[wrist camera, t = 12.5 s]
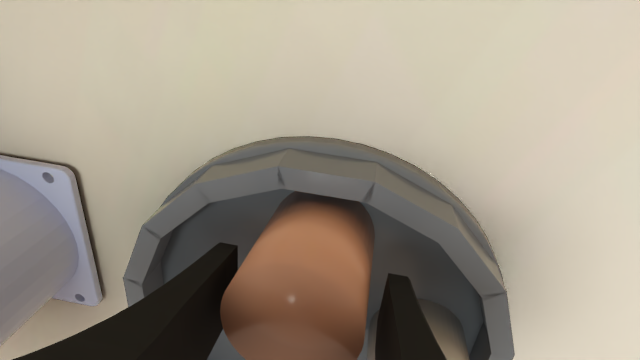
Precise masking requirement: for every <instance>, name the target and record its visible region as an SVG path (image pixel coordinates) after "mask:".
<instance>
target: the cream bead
mask: <svg viewBox="0 0 640 360" xmlns="http://www.w3.org/2000/svg"><path fill="white" fill-rule="evenodd" d="M417 300H418V302H419V304H420V307H421V309H422V312H423V314H424V316H425V318H426V320H427V322H428V324H429V326H430V328H431V331H432V333H433V335H434V337H435V339H436V340H437V342H438V344H439V346H440V348H441V350H442V352H443V353H444V355H445V357H446V359H447V360H470V359H469V355H468V350H467V345H466V340H465V335H464V330H463V326H462V324H461V322H460V320H459V319H458V317H457V316H456V315H455V314H454V313H453V312H451V311H450V310H449V309H447V308H446V307H444V306H442V305H440V304H438V303H435V302H432V301H428V300H422V299H417ZM379 310H380V309H379ZM379 310H378V311H377V312H376V313H375V314H374V316H373V317H372V319H371V321H370V324H369V332H368V347H367V360H375V343H376V330H377V319H378V315H379Z"/></svg>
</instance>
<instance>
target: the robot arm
mask: <svg viewBox="0 0 640 360" xmlns="http://www.w3.org/2000/svg"><path fill="white" fill-rule="evenodd" d="M50 174H51V175H52V176H53V177H52V176H51V175H50ZM237 271H238V245H232V244H227V243H221V242H220V243H218V244H217V245H215V246H214V247H213V248H212V249H210V250H209V251H208V252H206V253H205V254H204V255H203V256H201V257H200V258H199V259H198V260H196V261H195V262H194V263H192V264H191V265H190V266H188V267H187V268H186V269H184V270H183V271H182V272H180V273H179V274H178V275H176V276H175V277H174V278H172V279H171V280H170V281H168V282H167V283H165V284H164V285H162V286H161V287H159V288H158V289H156V290H155V291H153V292H152V293H150V294H149V295H147V296H146V297H144V298H143V299H141V300H140V301H138V302H136V303H135V304H133V305H132V306H130V307H128V308H126V309H125V310H123V311H121V312H119V313H118V314H116V315H114V316H112V317H110V318H108V319H106V320H104V321H102V322H100V323H98V324H96V325H94V326H92V327H90V328H88V329H86V330H84V331H82V332H80V333H78V334H76V335H73V336H71V337H69V338H67V339H64V340H62V341H60V342H57V343H55V344H52V345H50V346H47V347H45V348H43V349H40V350H38V351H35V352H32V353H30V354H27V355H24V356H22V357H19V358H16V359H13V360H207V358H208V356H209V355H210V353H211V351H212V349H213V347H214V345H215V343H216V341H217V339H218V337H219V335H220V333H221V332H222V330H223V326H222V322H221V316H220V306H221V301H222V297H223V295H224V292H225V290H226V289H227V287H228V285H229V284H230V282H231V281H232V279H233V277H234V276H235V274H236V273H237ZM51 298H54V299H59V300H63V301H68V302H73V303H78V304H83V305H88V306H97V305H98V304H99V303H100V302H101V300H102V293H101V288H100V284H99V279H98V275H97V271H96V266H95V262H94V257H93V253H92V248H91V244H90V240H89V235H88V231H87V226H86V222H85V218H84V213H83V209H82V204H81V200H80V195H79V191H78V187H77V182H76V178H75V175H74V173H73V172H72V171H71V170H70V169H69V168H67V167H65V166H61V165H55V164H49V163H44V162H38V161H32V160H26V159H20V158H14V157H8V156H2V155H0V346H1V345H2V344H3V343H4V342H5V341H6V340H7V339H9V338H10V337H11V336H12V335H13V334H14V333H15V332H16V331H17V330H18V329H19V328H20V327H21V326H22V325H23V324H24V323H25V322H26V321H27V320H29V319H30V318H31V317H32V316H33V315H34V314H35V313H36V312H37V311H38V310H39V309H40V308H41V307H42V306H43V305H44V304H45V303H46V302H48V301H49V300H50V299H51ZM375 360H447V359H446V357H445V355H444V353H443V352H442V350H441V348H440V346H439V344H438V342H437V340H436V339H435V337H434V335H433V333H432V331H431V328H430V326H429V324H428V322H427V320H426V318H425V316H424V314H423V312H422V309H421V307H420V304H419V302H418V300H417V297H416V295H415V292H414V289H413V286H412V284H411V280H410V279H409V278H408V277H407V276H402V275H397V274H391V273H388V276H387V280H386V285H385V289H384V293H383V298H382V302H381V306H380V310H379V315H378V319H377V330H376V343H375Z"/></svg>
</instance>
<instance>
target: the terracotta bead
mask: <svg viewBox="0 0 640 360" xmlns="http://www.w3.org/2000/svg"><path fill="white" fill-rule="evenodd" d="M374 241H375V230H374V225H373V222H372V219H371V217H370V215H369V213H368V212H367V210H366V209H365V208H364V206H363V205H362V204H361V203H360V202H359V201H353V200H347V199H341V198H335V197H329V196H323V195H317V194H311V193H305V192H299V191H294V192H293V193H291V194H289V195H288V196H287V197H286V198H285V199H284V200H283V201H282V202H281V203H280V204H279V206H278V208H277V209H276V211H275V212H274V214H273V215H272V217H271V219H270V220H269V222H268V223H267V225H266V227H265V228H264V230H263V231H262V233H261V235H260V236H259V238H258V239H257V241H256V242H255V244H254V246H253V247H252V249H251V250H250V252H249V254H248V255H247V257H246V258H245V260H244V262H243V263H242V265H241V266H240V268H239V269H238V271H237V273H236V274H235V276H234V277H233V279H232V281H231V282H230V284H229V285H228V287H227V289H226V290H225V292H224V295H223V297H222V301H221V306H220V316H221V322H222V326H223V329H224V332H225V334H226V336H227V338H228V340H229V341H230V343H231V344H232V346H233V347H234V348H235V349H236V350H237V352H238V353H239V354H240V355H241V356H242V357H243V358H245V359H246V360H356V359H357V358H358V357H359V355H360V353H361V351H362V348H363V344H364V339H365V329H366V319H367V309H368V300H369V290H370V280H371V270H372V261H373V251H374Z"/></svg>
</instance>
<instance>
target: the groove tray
mask: <svg viewBox="0 0 640 360" xmlns="http://www.w3.org/2000/svg"><path fill="white" fill-rule="evenodd" d="M294 191H299V192H305V193H311V194H317V195H323V196H329V197H335V198H341V199H347V200H353V201H359V202H360V203H361V204H362V205H363V206H364V208H365V209H366V210H367V212H368V213H369V215H370V217H371V219H372V222H373V225H374V230H375V241H374V251H373V261H372V270H371V280H370V290H369V300H368V309H367V319H366V329H365V339H364V344H363V348H362V351H361V353H360V355H359V357H358V358H357V359H356V360H367V347H368V332H369V324H370V321H371V319H372V317H373V316H374V314H375V313H376V312H377V311H378V310H379V309H380V306H381V302H382V298H383V293H384V289H385V285H386V280H387V276H388V273H391V274H397V275H402V276H407V277H408V278H409V279H410V280H411V284H412V286H413V289H414V292H415V295H416V297H417V299H422V300H428V301H432V302H435V303H438V304H440V305H442V306H444V307H446V308H447V309H449V310H450V311H451V312H453V313H454V314H455V315H456V316H457V317H458V319H459V320H460V322H461V324H462V326H463V330H464V335H465V340H466V345H467V350H468V355H469V359H470V360H512V359H513V357H514V355H515V354H514V346H513V338H512V330H511V323H510V315H509V307H508V299H507V292H506V289H505V286H504V283H503V278H502V274H501V271H500V268H499V266H498V263H497V260H496V258H495V255H494V253H493V250H492V248H491V246H490V243H489V241H488V238H487V236H486V235H485V233H484V232H483V230H482V228H481V227H480V225H479V224H478V222H477V220H476V219H475V217H474V216H473V215H472V214H471V213H470V212H469V210H468V209H467V208H466V207H465V206H464V205H463V203H462V202H461V201H460V200H459V199H458V198H457V197H456V196H455V195H454V194H452V193H451V192H450V191H449V190H448V189H447V188H446V187H444V186H443V185H442V184H441V183H440V182H439V181H437V180H436V179H434V178H433V177H431V176H430V175H428V174H427V173H425V172H423V171H422V170H420V169H419V168H417V167H416V166H414V165H412V164H410V163H408V162H406V161H404V160H402V159H400V158H398V157H395V156H393V155H391V154H389V153H386V152H383V151H380V150H377V149H374V148H371V147H368V146H366V145H362V144H357V143H352V142H348V141H343V140H339V139H330V138H319V137H281V138H275V139H269V140H263V141H257V142H253V143H250V144H247V145H244V146H241V147H237V148H234V149H232V150H229V151H227V152H225V153H223V154H221V155H219V156H217V157H215V158H213V159H211V160H210V161H208V162H207V163H205V164H204V165H202V166H201V167H199V168H198V169H196V170H195V171H194V172H193V173H192V174H191V175H189V176H188V177H187V178H186V179H185V180H184V181H183V182H182V183H181V184H180V185H179V186H178V187H177V188H176V189H175V190H174V191H173V192H172V193H171V194H170V195H169V196H168V197H167V198H166V200H165V201H164V203H163V204H162V205H161V207H160V208H159V209H158V210H157V211H156V212H155V213H154V214H153V215H152V216H151V217H150V218H149V219H148V220H147V221H146V222H145V223H144V224H143V225H142V227H141V230H140V233H139V236H138V238H137V241H136V244H135V247H134V249H133V252H132V255H131V258H130V261H129V263H128V266H127V269H126V272H125V274H124V277H123V280H124V285H125V291H126V296H127V301H128V307H130V306H132V305H133V304H135V303H136V302H138V301H140V300H141V299H143V298H144V297H146V296H147V295H149V294H150V293H152V292H153V291H155V290H156V289H158V288H159V287H161V286H162V285H164V284H165V283H167V282H168V281H170V280H171V279H172V278H174V277H175V276H176V275H178V274H179V273H180V272H182V271H183V270H184V269H186V268H187V267H188V266H190V265H191V264H192V263H194V262H195V261H196V260H198V259H199V258H200V257H201V256H203V255H204V254H205V253H206V252H208V251H209V250H210V249H212V248H213V247H214V246H215V245H217V244H218V243H220V242H221V243H227V244H232V245H238V269H239V268H240V266H241V265H242V263H243V262H244V260H245V258H246V257H247V255H248V254H249V252H250V250H251V249H252V247H253V246H254V244H255V242H256V241H257V239H258V238H259V236H260V235H261V233H262V231H263V230H264V228H265V227H266V225H267V223H268V222H269V220H270V219H271V217H272V215H273V214H274V212H275V211H276V209H277V208H278V206H279V204H280V203H281V202H282V201H283V200H284V199H285V198H286V197H287V196H288V195H289V194H291V193H293V192H294ZM207 360H246V359H245V358H243V357H242V356H241V355H240V354H239V353H238V352H237V350H236V349H235V348H234V347H233V346H232V344H231V343H230V341H229V340H228V338H227V336H226V334H225V332H224V329H223V330H222V332H221V333H220V335H219V337H218V339H217V341H216V343H215V345H214V347H213V349H212V351H211V353H210V355H209V356H208V358H207Z"/></svg>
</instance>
